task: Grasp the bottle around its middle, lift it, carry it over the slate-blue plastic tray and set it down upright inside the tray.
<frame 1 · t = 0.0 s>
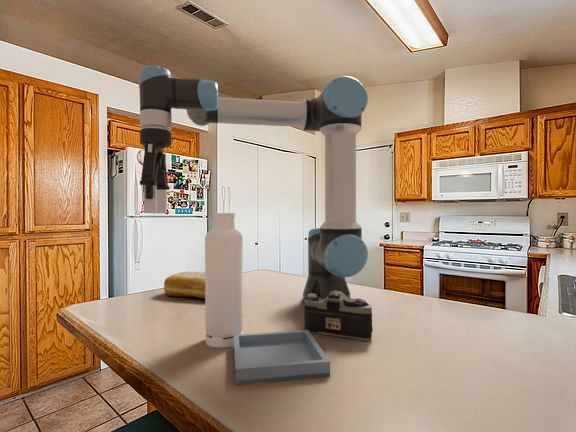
hand: (156, 213, 87), 28 cm above the kitchen counter, fingers open, 13 cm apart
camera: (340, 332, 80), on the kitchen counter
tray: (277, 359, 64), on the kitchen counter
bottle: (224, 341, 74), on the kitchen counter
bread: (201, 297, 115), on the kitchen counter
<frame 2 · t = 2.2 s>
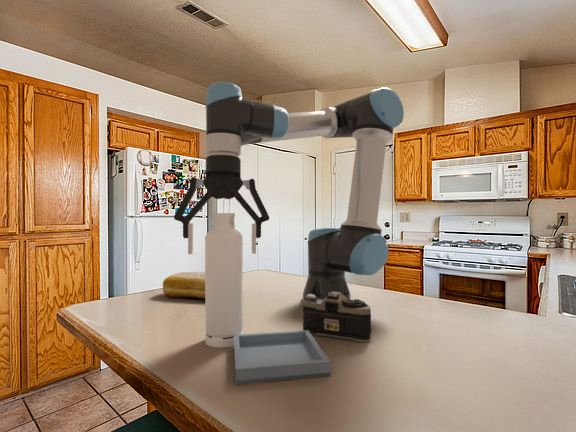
hand: (222, 253, 74), 19 cm above the kitchen counter, fingers open, 13 cm apart
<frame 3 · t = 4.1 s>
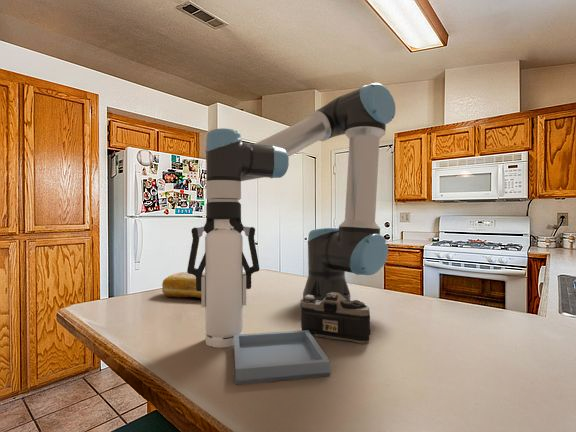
hand: (224, 304, 74), 8 cm above the kitchen counter, fingers closed on bottle, 8 cm apart
bottle: (224, 341, 75), on the kitchen counter, touching gripper
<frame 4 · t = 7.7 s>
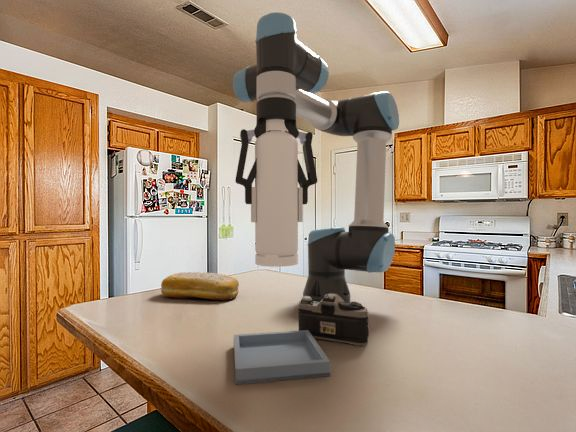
hand: (276, 221, 64), 26 cm above the kitchen counter, fingers closed on bottle, 8 cm apart
camera: (335, 336, 77), on the kitchen counter
bottle: (276, 264, 64), point 18 cm above the kitchen counter, touching gripper
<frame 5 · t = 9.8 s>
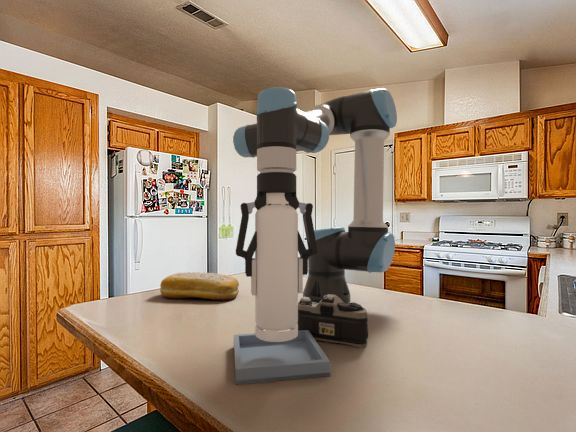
hand: (276, 292, 64), 13 cm above the kitchen counter, fingers closed on bottle, 8 cm apart
bottle: (276, 335, 64), point 5 cm above the kitchen counter, touching gripper
when the fingers open (10 cm above the kitchen counter, at t = 11.3 s): bottle drops 2 cm, resting on tray.
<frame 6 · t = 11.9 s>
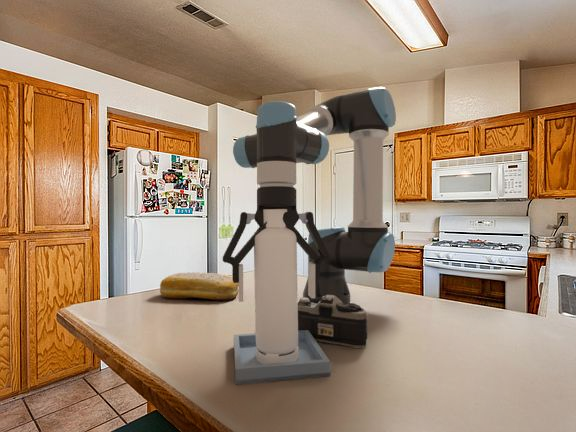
hand: (276, 298, 64), 12 cm above the kitchen counter, fingers open, 13 cm apart
bottle: (277, 357, 64), resting on tray
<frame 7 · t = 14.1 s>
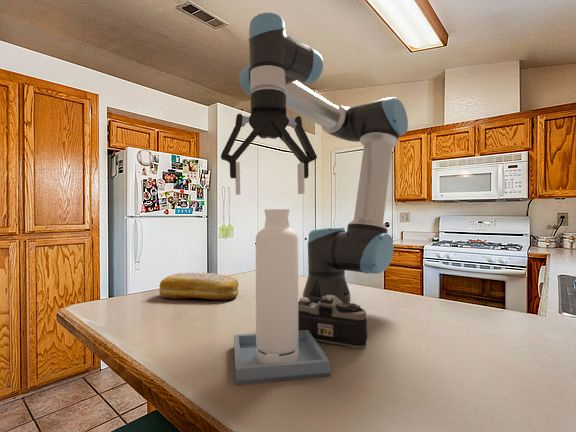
hand: (270, 194, 72), 32 cm above the kitchen counter, fingers open, 13 cm apart
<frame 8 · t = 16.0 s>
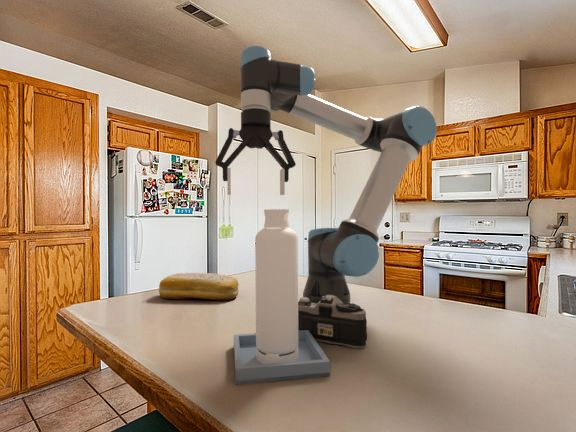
hand: (256, 194, 87), 33 cm above the kitchen counter, fingers open, 13 cm apart
at the end: bottle 0.1 cm from the tray (horizontally); bottle tilted 0°; the gripper is holding nothing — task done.
